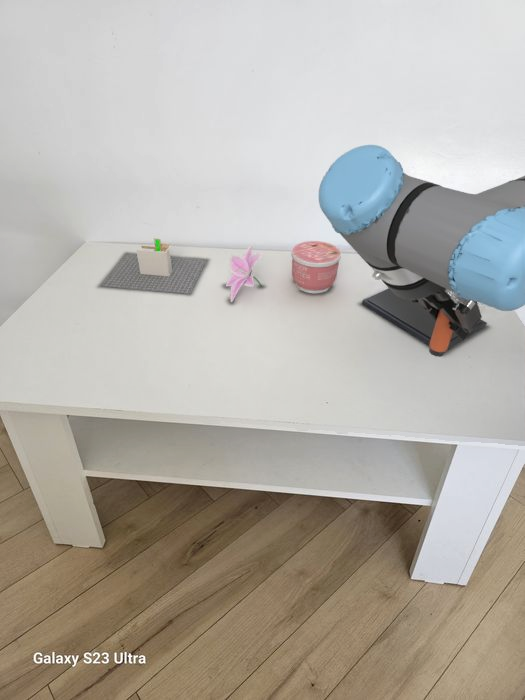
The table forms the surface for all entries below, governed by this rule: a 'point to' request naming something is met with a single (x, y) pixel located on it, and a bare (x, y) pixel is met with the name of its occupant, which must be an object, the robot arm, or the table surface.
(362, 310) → the table surface
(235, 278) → the lily
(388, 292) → the plate
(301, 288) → the container
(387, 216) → the robot arm
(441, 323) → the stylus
